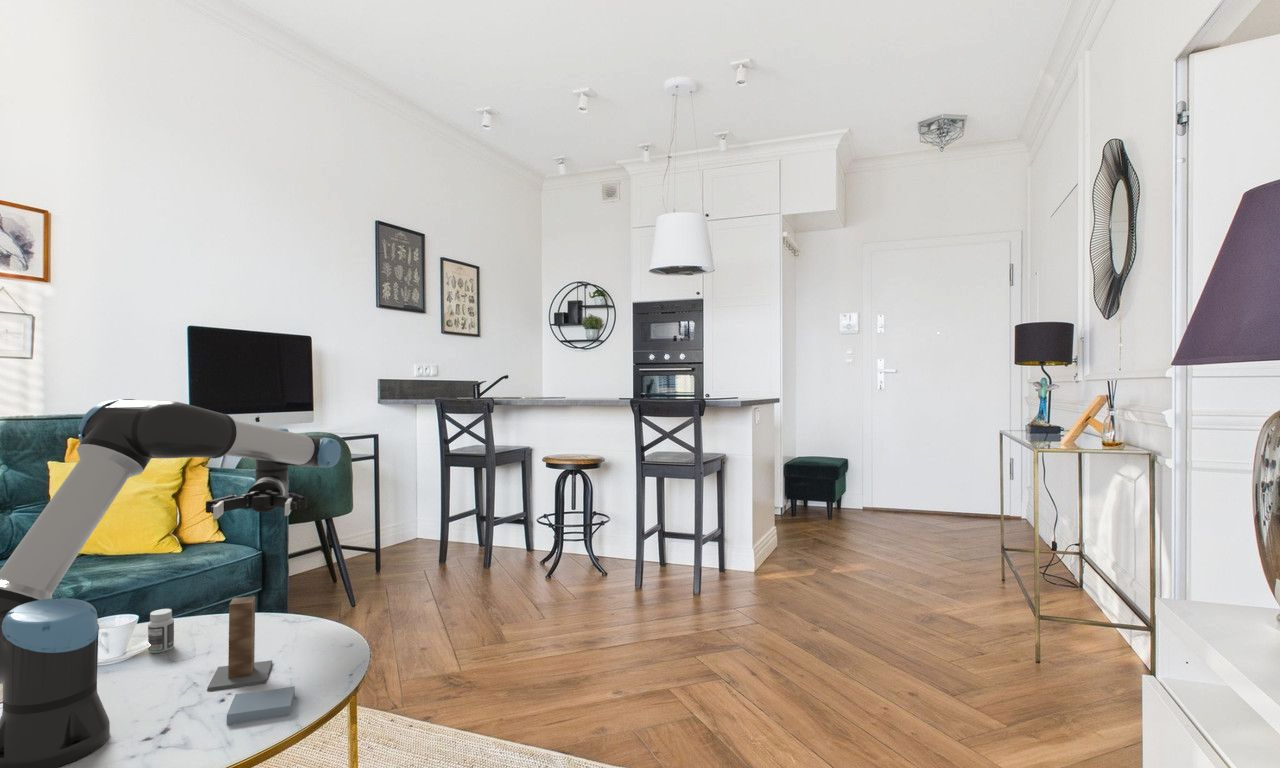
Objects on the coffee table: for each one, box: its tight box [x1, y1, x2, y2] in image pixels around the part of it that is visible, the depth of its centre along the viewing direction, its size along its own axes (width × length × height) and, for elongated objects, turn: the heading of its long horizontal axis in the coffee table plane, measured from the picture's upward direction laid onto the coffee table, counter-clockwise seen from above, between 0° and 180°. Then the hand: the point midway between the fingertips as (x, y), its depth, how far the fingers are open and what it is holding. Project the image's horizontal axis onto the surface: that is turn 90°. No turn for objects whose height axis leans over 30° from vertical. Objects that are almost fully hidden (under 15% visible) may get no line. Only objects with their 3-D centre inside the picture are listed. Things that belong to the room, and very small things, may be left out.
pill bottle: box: [147, 608, 175, 654], centre depth 150 cm, size 5×5×8 cm
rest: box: [206, 659, 273, 692], centre depth 137 cm, size 10×10×1 cm
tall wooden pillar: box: [227, 595, 256, 679], centre depth 137 cm, size 4×4×15 cm
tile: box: [226, 686, 296, 726], centre depth 124 cm, size 10×2×8 cm
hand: (251, 511), depth 146 cm, fingers open, 13 cm apart
